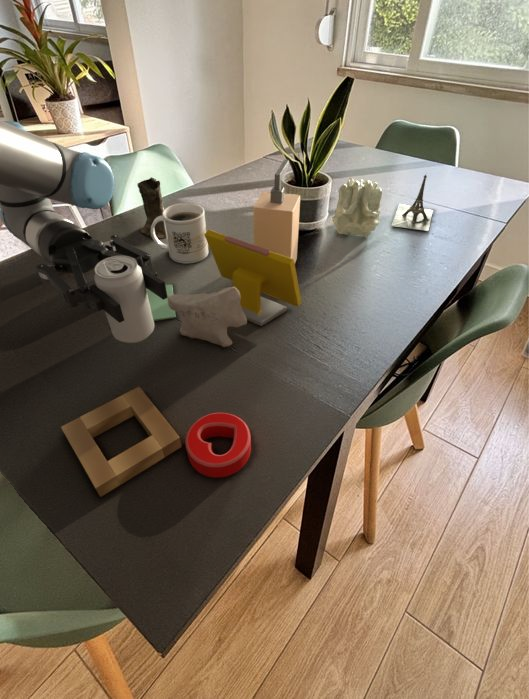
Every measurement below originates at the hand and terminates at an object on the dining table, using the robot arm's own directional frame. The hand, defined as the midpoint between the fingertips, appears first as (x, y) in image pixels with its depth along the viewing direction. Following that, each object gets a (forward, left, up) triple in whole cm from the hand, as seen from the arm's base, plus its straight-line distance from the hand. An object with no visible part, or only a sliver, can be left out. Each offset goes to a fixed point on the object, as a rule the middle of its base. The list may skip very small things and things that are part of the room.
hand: (142, 301), depth 58 cm
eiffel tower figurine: (+72, +53, -21) cm, 92 cm away
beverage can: (-3, +4, -9) cm, 10 cm away
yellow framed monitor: (+19, +22, -21) cm, 36 cm away
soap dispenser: (+29, +39, -21) cm, 53 cm away
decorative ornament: (+7, -11, -21) cm, 25 cm away
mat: (-3, +28, -21) cm, 35 cm away
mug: (+7, +48, -21) cm, 53 cm away
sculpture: (+9, +13, -21) cm, 27 cm away
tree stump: (+1, +62, -21) cm, 66 cm away
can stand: (-7, -7, -21) cm, 23 cm away
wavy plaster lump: (+54, +51, -21) cm, 77 cm away
